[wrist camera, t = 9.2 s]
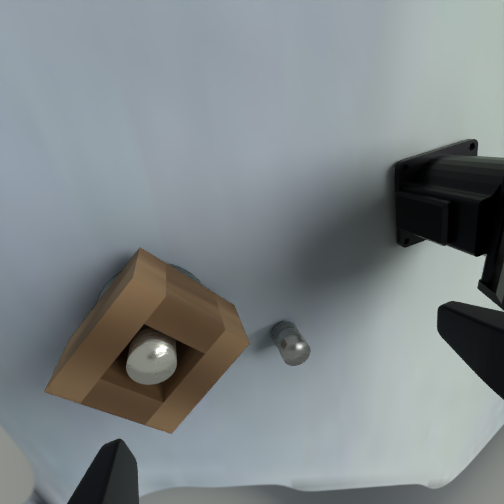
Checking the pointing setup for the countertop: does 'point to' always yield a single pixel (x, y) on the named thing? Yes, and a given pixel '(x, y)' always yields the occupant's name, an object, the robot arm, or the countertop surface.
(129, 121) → the countertop surface
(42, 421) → the countertop surface
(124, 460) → the robot arm
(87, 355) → the wooden square frame
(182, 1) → the countertop surface
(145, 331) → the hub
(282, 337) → the grey metal cylinder
